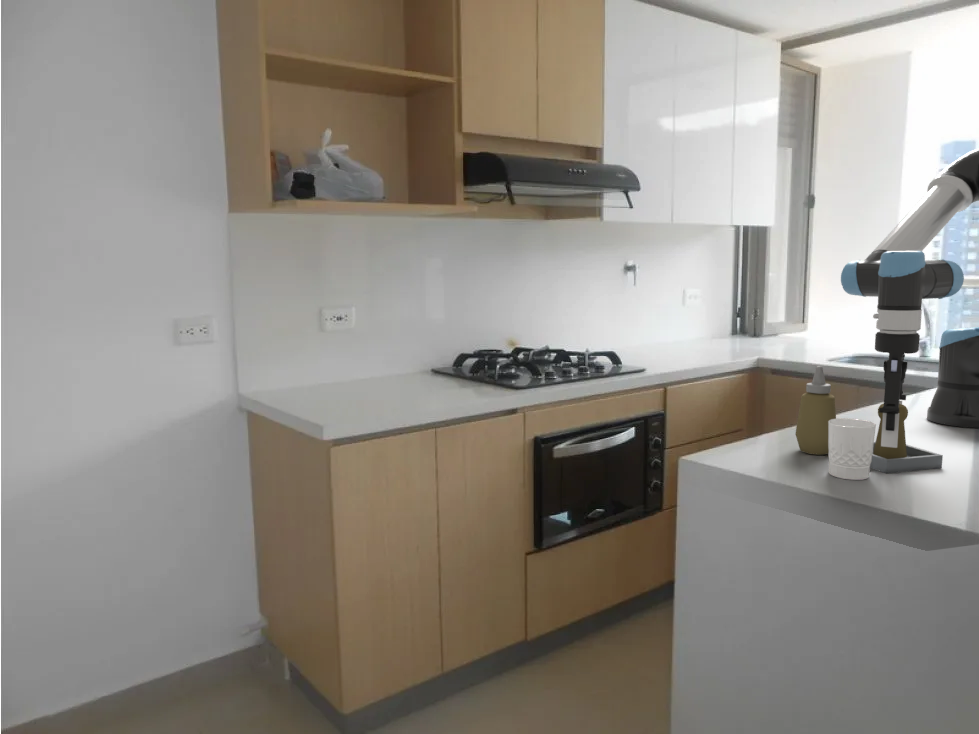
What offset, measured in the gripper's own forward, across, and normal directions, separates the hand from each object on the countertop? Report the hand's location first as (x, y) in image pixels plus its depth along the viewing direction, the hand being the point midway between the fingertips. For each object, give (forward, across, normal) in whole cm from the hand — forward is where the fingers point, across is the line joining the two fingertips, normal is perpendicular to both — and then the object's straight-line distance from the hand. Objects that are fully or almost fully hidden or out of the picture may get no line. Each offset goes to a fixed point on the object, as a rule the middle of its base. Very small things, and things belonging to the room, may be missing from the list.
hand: (890, 439), depth 147 cm
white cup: (+5, +13, -6) cm, 15 cm away
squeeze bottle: (+5, -2, -14) cm, 15 cm away
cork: (+4, 0, 0) cm, 4 cm away
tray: (+5, 0, 0) cm, 5 cm away
